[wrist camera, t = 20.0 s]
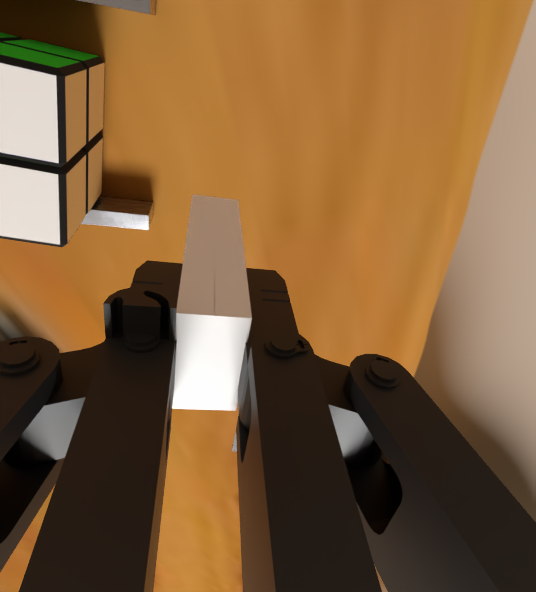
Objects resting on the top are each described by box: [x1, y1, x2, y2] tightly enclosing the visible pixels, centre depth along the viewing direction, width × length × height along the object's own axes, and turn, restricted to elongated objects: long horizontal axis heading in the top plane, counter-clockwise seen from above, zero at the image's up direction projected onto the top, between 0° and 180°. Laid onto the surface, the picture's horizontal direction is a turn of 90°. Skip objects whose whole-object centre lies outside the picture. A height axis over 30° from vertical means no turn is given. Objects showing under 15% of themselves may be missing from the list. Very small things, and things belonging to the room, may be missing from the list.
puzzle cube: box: [0, 32, 105, 247], centre depth 26 cm, size 10×10×10 cm
